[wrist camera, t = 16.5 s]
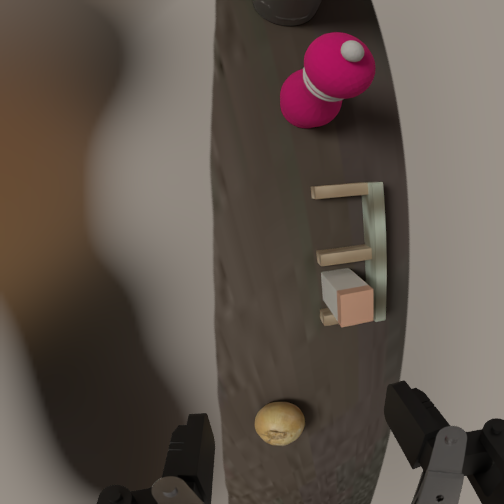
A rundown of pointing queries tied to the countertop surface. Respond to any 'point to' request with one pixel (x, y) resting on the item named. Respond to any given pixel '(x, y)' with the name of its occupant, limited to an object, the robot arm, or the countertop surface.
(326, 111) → the pepper mill
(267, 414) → the onion
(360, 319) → the plug
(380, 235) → the comb rack
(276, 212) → the countertop surface
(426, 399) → the robot arm
